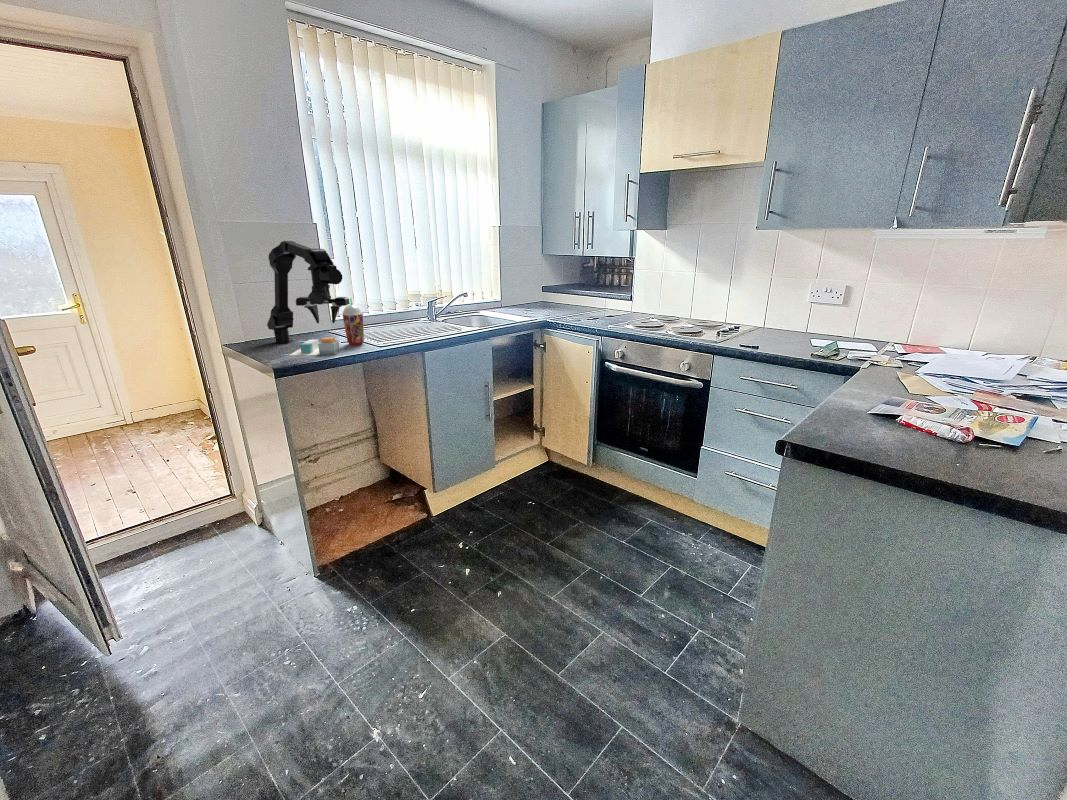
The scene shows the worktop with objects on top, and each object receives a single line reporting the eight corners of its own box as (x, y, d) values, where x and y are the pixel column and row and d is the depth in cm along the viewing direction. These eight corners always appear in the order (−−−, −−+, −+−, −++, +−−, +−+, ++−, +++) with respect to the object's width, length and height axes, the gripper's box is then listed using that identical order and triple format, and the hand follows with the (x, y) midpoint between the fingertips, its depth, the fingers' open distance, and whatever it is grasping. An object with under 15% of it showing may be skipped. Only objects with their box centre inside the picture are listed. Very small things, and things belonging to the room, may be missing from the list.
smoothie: (364, 346, 201) (359, 299, 194) (344, 346, 199) (338, 299, 193) (367, 342, 208) (362, 297, 202) (348, 342, 207) (342, 297, 201)
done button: (325, 344, 189) (324, 337, 188) (335, 344, 189) (334, 337, 188) (321, 346, 185) (320, 339, 184) (332, 346, 186) (331, 339, 185)
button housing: (324, 351, 191) (323, 340, 189) (339, 351, 191) (338, 340, 190) (319, 354, 185) (318, 343, 184) (335, 354, 186) (333, 343, 184)
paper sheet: (304, 346, 199) (304, 346, 198) (330, 346, 199) (330, 346, 199) (288, 355, 183) (288, 355, 183) (317, 355, 184) (317, 355, 184)
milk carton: (310, 347, 196) (309, 339, 195) (319, 347, 196) (318, 339, 195) (301, 353, 186) (300, 344, 185) (310, 353, 187) (309, 344, 186)
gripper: (286, 284, 171) (293, 326, 176) (338, 284, 172) (343, 326, 178) (298, 282, 182) (304, 322, 187) (347, 282, 183) (352, 322, 188)
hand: (325, 323), depth 184 cm, fingers open, 6 cm apart
